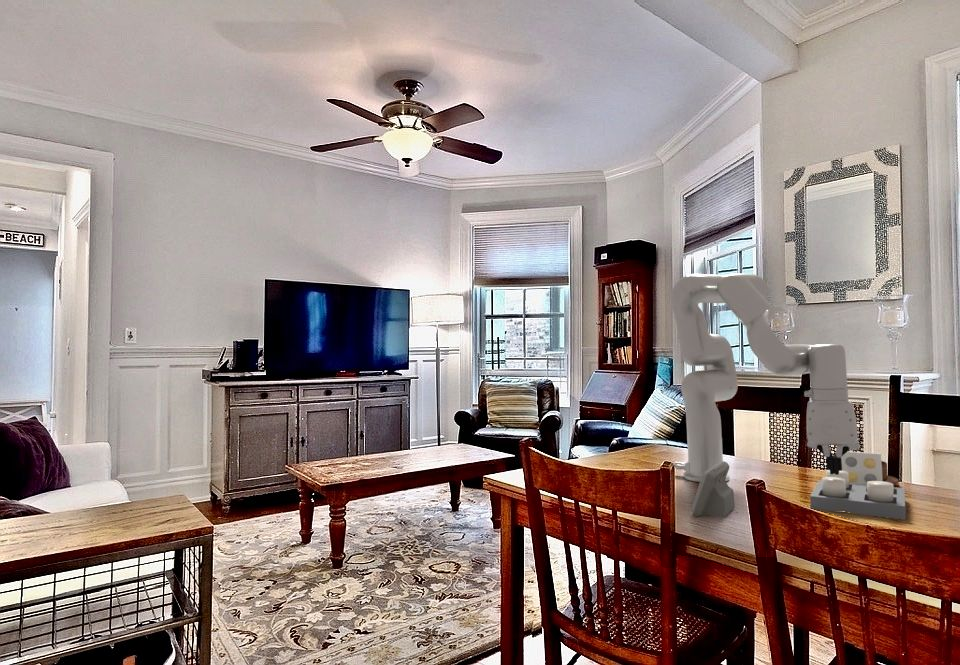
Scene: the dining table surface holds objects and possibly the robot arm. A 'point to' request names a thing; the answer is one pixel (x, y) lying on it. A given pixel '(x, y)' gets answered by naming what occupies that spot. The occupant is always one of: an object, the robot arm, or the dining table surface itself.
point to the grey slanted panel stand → (714, 493)
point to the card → (862, 467)
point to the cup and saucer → (885, 476)
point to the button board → (859, 502)
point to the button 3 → (880, 491)
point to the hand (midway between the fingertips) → (834, 473)
